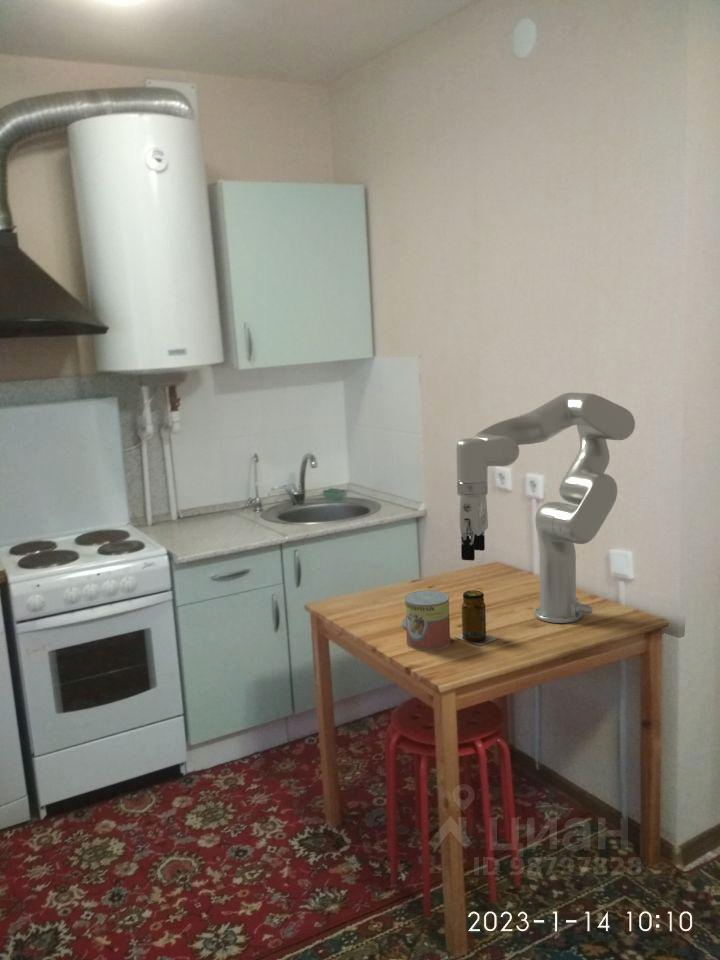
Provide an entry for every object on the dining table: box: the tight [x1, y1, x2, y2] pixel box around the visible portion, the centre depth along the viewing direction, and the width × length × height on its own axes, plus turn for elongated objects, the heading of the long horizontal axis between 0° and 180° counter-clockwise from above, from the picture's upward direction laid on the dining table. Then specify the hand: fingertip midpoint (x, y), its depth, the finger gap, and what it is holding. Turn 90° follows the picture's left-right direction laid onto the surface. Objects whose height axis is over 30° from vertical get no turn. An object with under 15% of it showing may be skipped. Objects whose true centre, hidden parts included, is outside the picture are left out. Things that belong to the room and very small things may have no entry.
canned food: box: [404, 590, 452, 652], centre depth 202 cm, size 11×11×12 cm
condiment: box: [455, 589, 499, 646], centre depth 203 cm, size 7×8×12 cm
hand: (473, 554), depth 200 cm, fingers open, 9 cm apart
